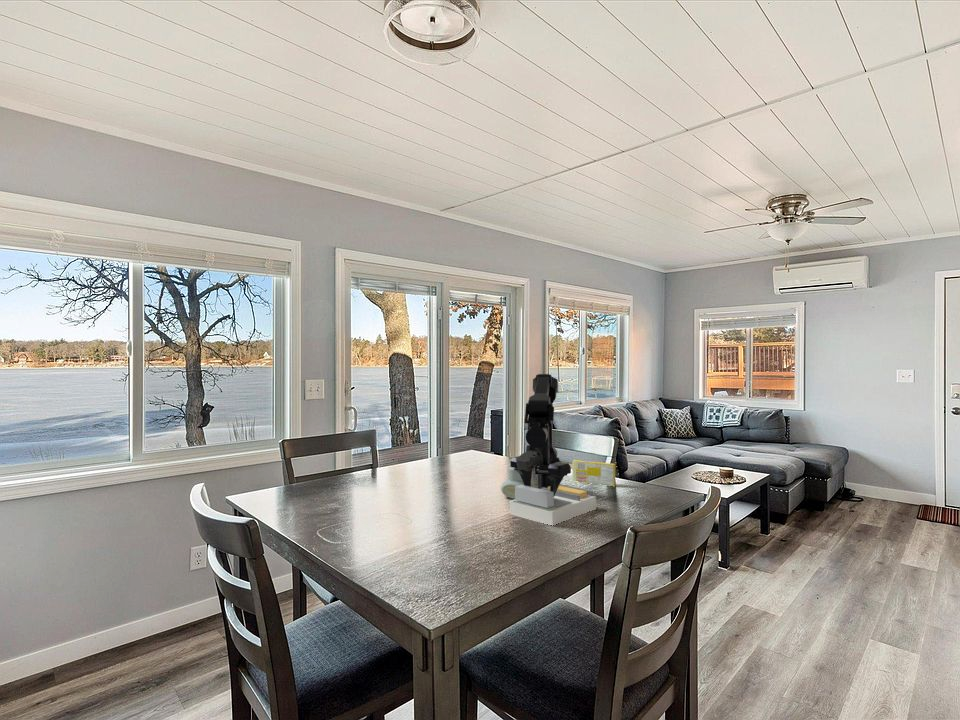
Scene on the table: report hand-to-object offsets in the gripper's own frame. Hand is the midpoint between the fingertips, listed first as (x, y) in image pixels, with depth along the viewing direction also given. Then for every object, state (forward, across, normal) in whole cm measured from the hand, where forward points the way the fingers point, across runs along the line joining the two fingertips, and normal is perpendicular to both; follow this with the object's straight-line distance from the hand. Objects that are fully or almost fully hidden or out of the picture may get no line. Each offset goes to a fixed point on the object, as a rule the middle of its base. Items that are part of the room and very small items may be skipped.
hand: (539, 494), depth 151 cm
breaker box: (+6, 0, +6) cm, 9 cm away
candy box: (+7, -10, +45) cm, 46 cm away
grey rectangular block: (+2, 0, -3) cm, 3 cm away
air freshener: (+7, -19, +12) cm, 23 cm away
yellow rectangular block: (+2, 0, +14) cm, 14 cm away
